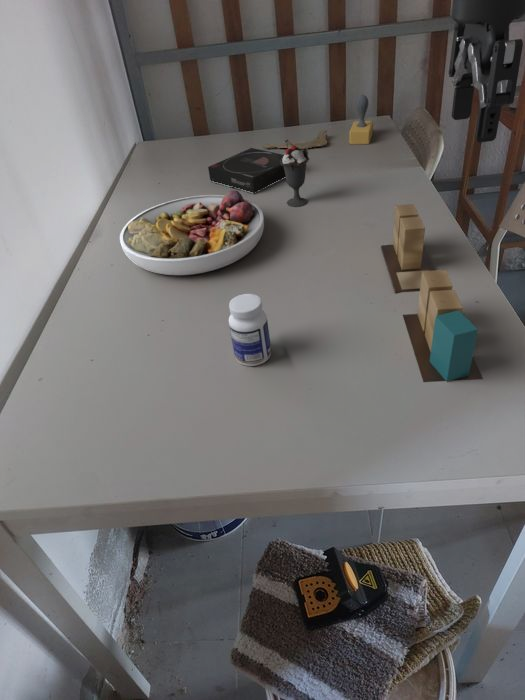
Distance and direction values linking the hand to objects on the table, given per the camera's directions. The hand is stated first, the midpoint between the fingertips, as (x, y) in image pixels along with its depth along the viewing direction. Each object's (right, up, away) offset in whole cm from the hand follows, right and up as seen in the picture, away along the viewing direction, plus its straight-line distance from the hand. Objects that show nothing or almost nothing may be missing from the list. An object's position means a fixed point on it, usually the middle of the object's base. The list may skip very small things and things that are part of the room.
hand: (471, 129), depth 63 cm
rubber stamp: (+4, +36, +91) cm, 98 cm away
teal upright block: (+1, -29, +10) cm, 31 cm away
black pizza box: (-28, +19, +76) cm, 83 cm away
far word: (+2, -12, +32) cm, 35 cm away
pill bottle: (-27, -28, +18) cm, 42 cm away
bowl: (-40, -5, +48) cm, 62 cm away
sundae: (-17, +8, +60) cm, 63 cm away
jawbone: (-15, +35, +93) cm, 101 cm away
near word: (+1, -26, +15) cm, 30 cm away
